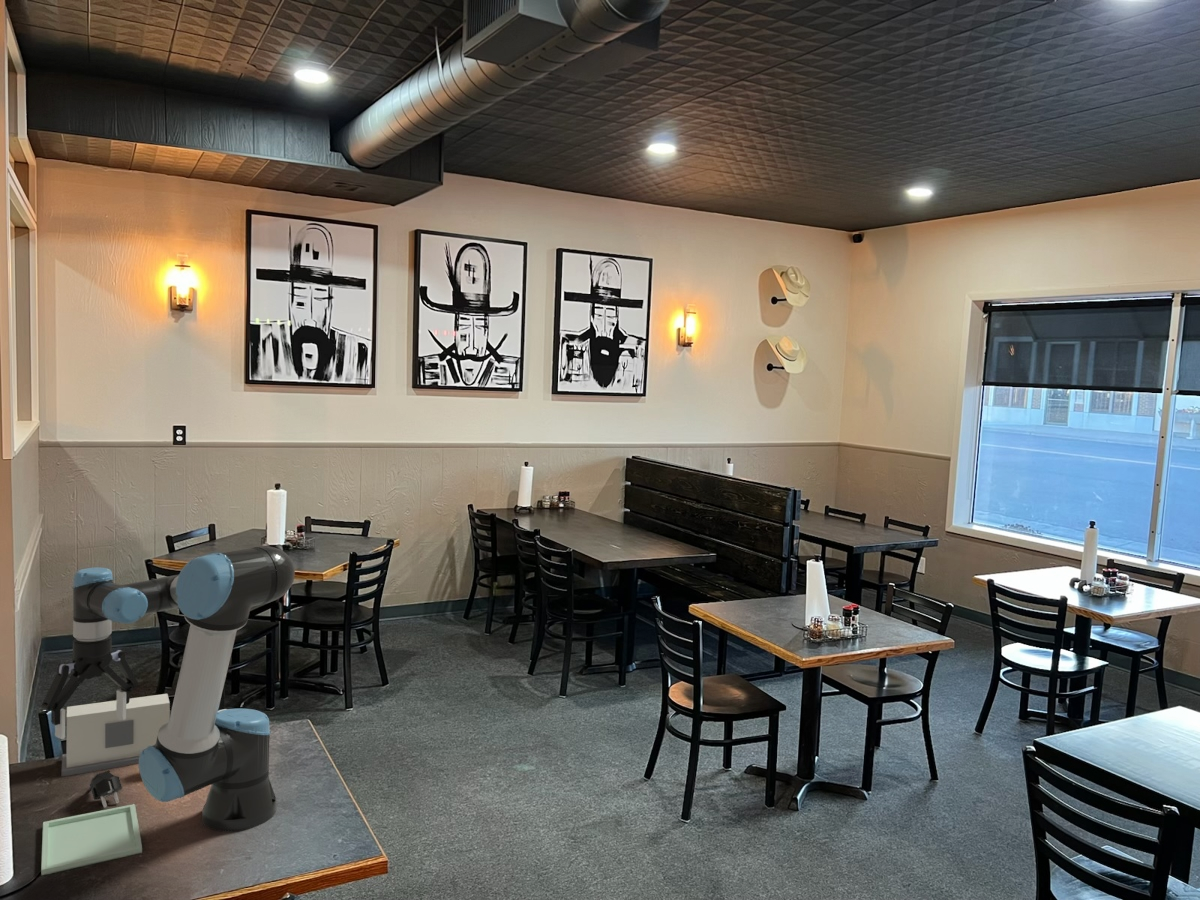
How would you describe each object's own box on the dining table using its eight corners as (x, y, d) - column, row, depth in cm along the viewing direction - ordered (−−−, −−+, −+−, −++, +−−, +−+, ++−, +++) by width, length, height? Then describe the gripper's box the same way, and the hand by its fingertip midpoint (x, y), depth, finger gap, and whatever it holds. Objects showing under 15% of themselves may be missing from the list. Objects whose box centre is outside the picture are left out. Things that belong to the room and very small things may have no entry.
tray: (142, 854, 171) (142, 847, 171) (41, 877, 162) (41, 869, 162) (134, 810, 188) (134, 803, 188) (43, 828, 179) (43, 821, 179)
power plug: (101, 782, 198) (120, 764, 192) (110, 813, 196) (129, 796, 190) (75, 791, 194) (93, 772, 187) (83, 823, 191) (102, 805, 185)
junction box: (170, 743, 223) (171, 691, 222) (174, 758, 214) (174, 704, 213) (62, 760, 210) (62, 705, 209) (61, 777, 202) (61, 720, 201)
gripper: (136, 621, 205) (135, 706, 207) (23, 646, 183) (23, 741, 185) (155, 627, 201) (153, 714, 203) (41, 653, 180) (41, 750, 181)
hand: (91, 727), depth 194 cm, fingers open, 13 cm apart
